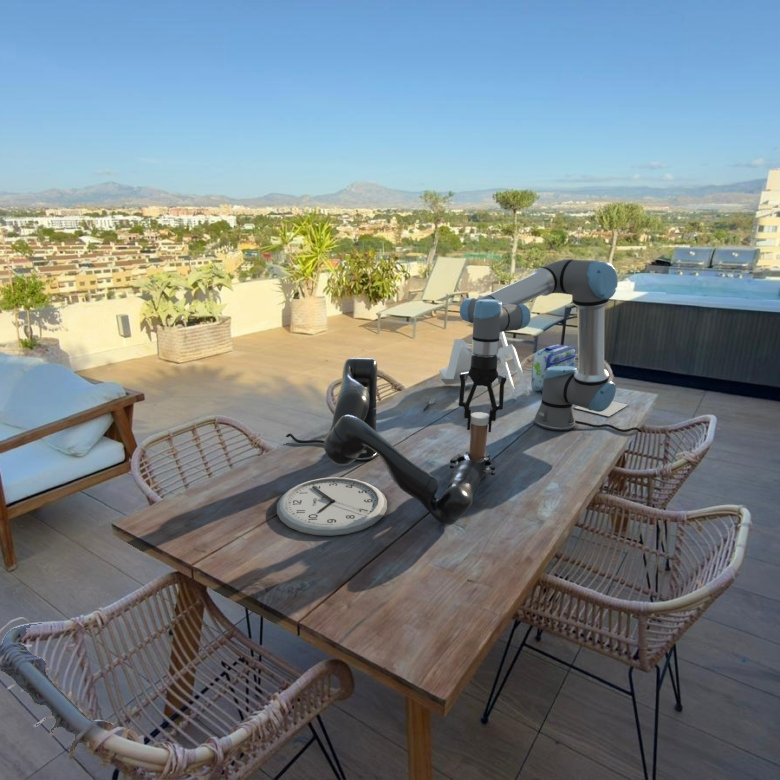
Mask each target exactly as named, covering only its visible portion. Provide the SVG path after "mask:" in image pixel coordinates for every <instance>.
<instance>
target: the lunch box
mask: <svg viewBox="0 0 780 780" xmlns="http://www.w3.org/2000/svg"><path fill="white" fill-rule="evenodd" d="M576 357H577V355H576V347H575V346H569V345H565V344H554V345H550V346H547V347H544V348H542V349H541V348H540V349H539V350H537V351H536V352H535V353H534V356H533V360H532V367H531V368H532V369H531V382H530V383H531V386H530V387H531V389H532V390H533V391H537V392H542V391H543V382H544V379H543V378H544V375H545V371H546V369H547V368H549V367H554V366H571V367H575V364H576Z"/></svg>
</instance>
